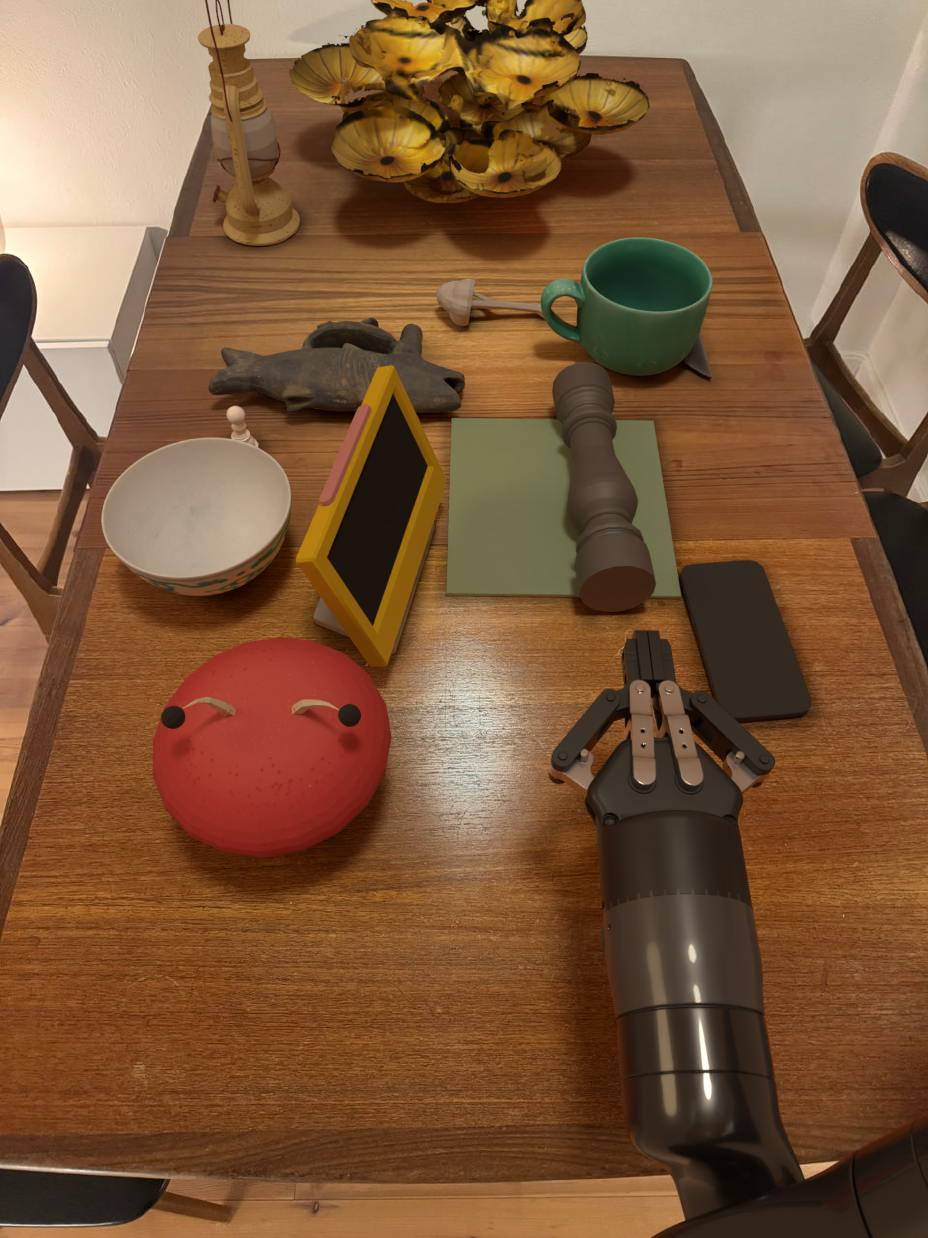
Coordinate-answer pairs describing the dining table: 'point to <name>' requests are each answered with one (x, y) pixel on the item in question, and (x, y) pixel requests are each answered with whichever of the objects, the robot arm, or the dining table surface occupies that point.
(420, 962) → the dining table surface
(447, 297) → the mushroom
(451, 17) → the mushroom
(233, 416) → the chess pawn
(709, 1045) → the robot arm
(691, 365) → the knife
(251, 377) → the ceramic vessel
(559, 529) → the mat
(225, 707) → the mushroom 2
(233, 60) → the lantern
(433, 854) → the dining table surface
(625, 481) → the candle holder
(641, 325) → the mug
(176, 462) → the chinaware
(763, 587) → the phone
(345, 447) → the yellow framed monitor
